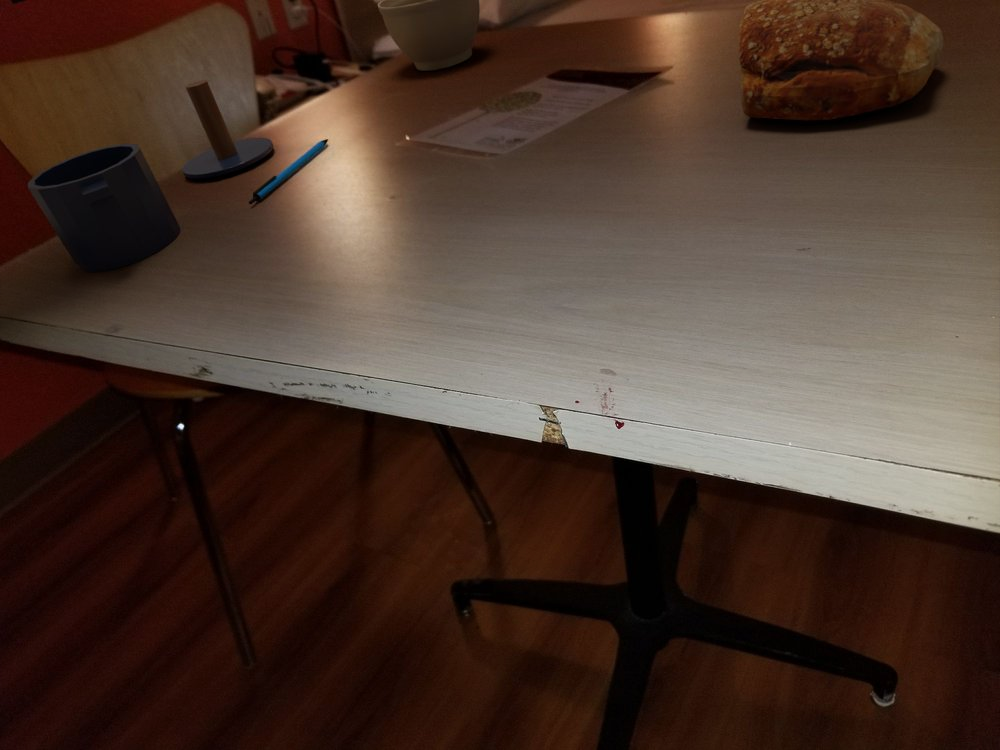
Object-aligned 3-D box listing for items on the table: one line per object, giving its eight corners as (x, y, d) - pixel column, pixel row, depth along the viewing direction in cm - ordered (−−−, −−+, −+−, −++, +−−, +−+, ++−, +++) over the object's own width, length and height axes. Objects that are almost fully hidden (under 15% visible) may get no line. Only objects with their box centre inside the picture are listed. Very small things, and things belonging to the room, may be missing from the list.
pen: (248, 206, 84) (244, 197, 83) (326, 142, 97) (323, 134, 97) (254, 206, 83) (250, 197, 83) (331, 142, 97) (329, 134, 96)
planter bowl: (394, 64, 127) (376, -3, 121) (483, 41, 127) (469, -28, 121) (399, 86, 114) (378, 11, 108) (498, 60, 114) (483, -16, 108)
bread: (765, 66, 86) (766, -27, 80) (943, 56, 77) (959, -51, 71) (716, 133, 73) (713, 27, 67) (924, 130, 64) (942, 7, 58)
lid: (195, 191, 93) (155, 107, 86) (178, 170, 102) (141, 92, 96) (286, 156, 97) (254, 73, 90) (261, 139, 106) (231, 63, 100)
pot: (83, 292, 73) (29, 205, 68) (72, 243, 86) (26, 167, 80) (193, 248, 77) (150, 162, 71) (167, 207, 90) (128, 132, 84)
